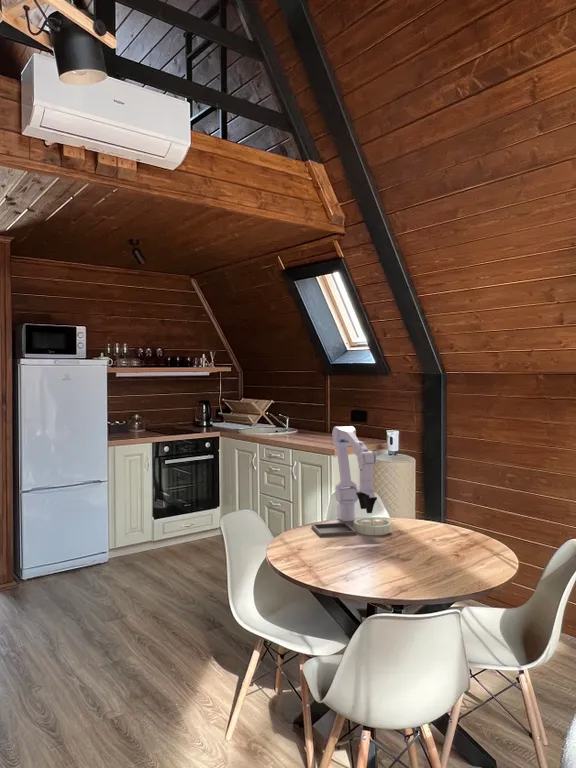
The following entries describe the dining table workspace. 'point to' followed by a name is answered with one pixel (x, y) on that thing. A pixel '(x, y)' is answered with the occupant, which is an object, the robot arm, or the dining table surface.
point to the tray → (333, 529)
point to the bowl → (372, 527)
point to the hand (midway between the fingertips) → (366, 510)
